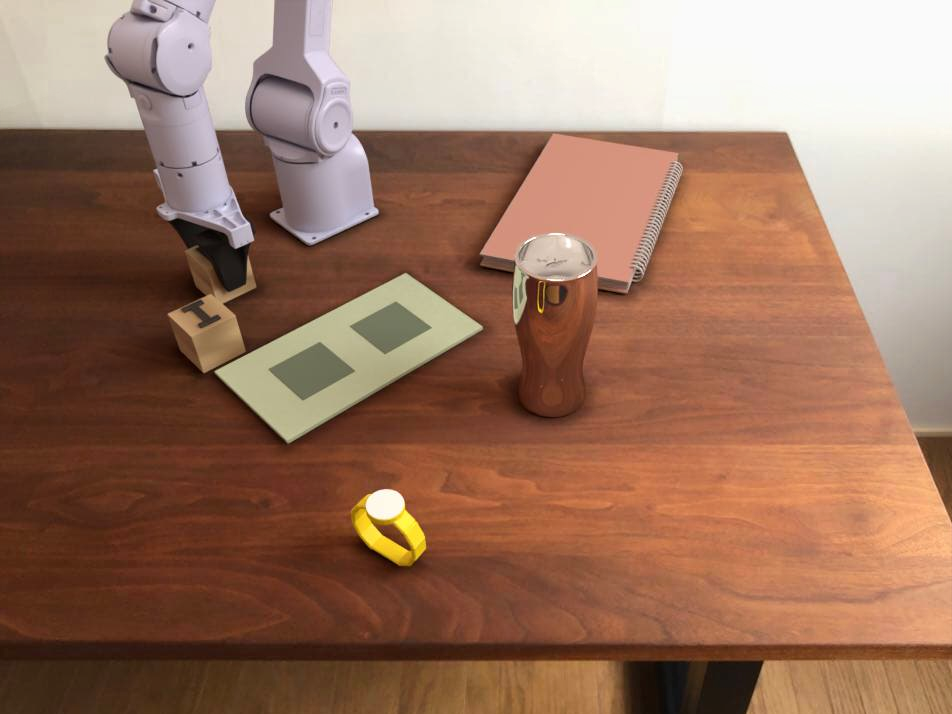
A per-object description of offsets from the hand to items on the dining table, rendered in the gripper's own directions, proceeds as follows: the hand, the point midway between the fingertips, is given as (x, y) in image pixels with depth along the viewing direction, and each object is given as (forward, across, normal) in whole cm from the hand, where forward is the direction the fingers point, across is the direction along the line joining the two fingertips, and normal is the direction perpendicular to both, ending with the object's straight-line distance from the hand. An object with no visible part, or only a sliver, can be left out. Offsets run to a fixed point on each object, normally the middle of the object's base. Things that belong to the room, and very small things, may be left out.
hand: (222, 275), depth 90 cm
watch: (+2, +38, -8) cm, 39 cm away
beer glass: (+2, +34, +13) cm, 36 cm away
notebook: (+2, +16, +37) cm, 40 cm away
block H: (+1, 0, 0) cm, 1 cm away
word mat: (+1, +17, +4) cm, 17 cm away
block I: (+1, +8, -6) cm, 10 cm away
